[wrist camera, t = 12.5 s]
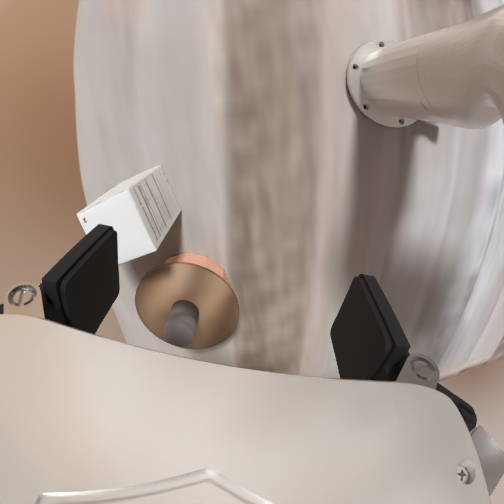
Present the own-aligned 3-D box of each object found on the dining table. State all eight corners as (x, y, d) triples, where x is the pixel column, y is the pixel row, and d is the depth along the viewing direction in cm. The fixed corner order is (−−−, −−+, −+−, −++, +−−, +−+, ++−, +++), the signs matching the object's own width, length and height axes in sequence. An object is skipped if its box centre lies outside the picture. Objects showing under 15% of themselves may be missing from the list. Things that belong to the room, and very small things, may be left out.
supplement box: (139, 227, 41) (104, 271, 30) (118, 182, 38) (73, 213, 27) (183, 211, 40) (157, 252, 29) (163, 162, 37) (126, 187, 26)
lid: (248, 274, 38) (248, 301, 33) (229, 352, 45) (226, 380, 40) (137, 252, 37) (121, 274, 32) (137, 333, 44) (127, 359, 39)
